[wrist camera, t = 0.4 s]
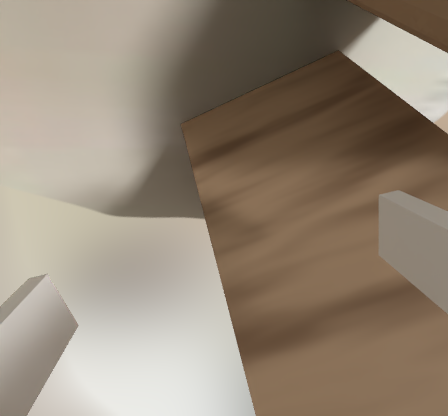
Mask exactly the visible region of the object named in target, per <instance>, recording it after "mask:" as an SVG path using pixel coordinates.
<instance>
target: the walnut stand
mask: <svg viewBox="0 0 448 416" xmlns="http://www.w3.org/2000/svg"><path fill="white" fill-rule="evenodd" d="M181 127H182V131H183V135H184V138H185V142H186V146H187V150H188V154H189V158H190V162H191V166H192V169H193V173H194V177H195V181H196V185H197V189H198V193H199V197H200V201H201V204H202V208H203V212H204V216H205V220H206V224H207V228H208V231H209V235H210V239H211V243H212V247H213V251H214V255H215V259H216V263H217V266H218V270H219V274H220V278H221V282H222V286H223V290H224V294H225V297H226V301H227V305H228V309H229V313H230V317H231V321H232V324H233V329H234V332H235V336H236V340H237V344H238V348H239V352H240V356H241V359H242V363H243V367H244V371H245V375H246V379H247V383H248V387H249V391H250V394H251V398H252V402H253V406H254V410H255V414H256V416H448V314H447V313H446V312H445V311H443V310H442V309H441V308H440V307H439V306H438V305H436V304H435V303H434V302H433V301H432V300H431V299H429V298H428V297H427V296H426V295H425V294H424V293H422V292H421V291H420V290H419V289H418V288H417V287H415V286H414V285H413V284H412V283H411V282H410V281H408V280H407V279H406V278H405V277H404V276H403V275H401V274H400V273H399V272H398V271H397V270H395V269H394V268H393V267H392V266H391V265H390V264H388V263H387V262H386V261H385V260H384V259H383V258H381V257H380V256H379V195H380V194H384V193H388V192H392V191H397V190H400V191H402V192H404V193H406V194H409V195H411V196H413V197H416V198H418V199H420V200H423V201H425V202H427V203H430V204H432V205H434V206H437V207H439V208H441V209H444V210H446V211H448V134H447V133H446V132H444V131H443V130H442V129H440V128H439V127H438V126H436V125H435V124H434V123H433V122H431V121H430V120H429V119H427V118H426V117H425V116H423V115H422V114H421V113H420V112H418V111H417V110H416V109H414V108H413V107H412V106H410V105H409V104H408V103H406V102H405V101H404V100H403V99H401V98H400V97H399V96H397V95H396V94H395V93H393V92H392V91H391V90H390V89H388V88H387V87H386V86H384V85H383V84H382V83H380V82H379V81H378V80H377V79H375V78H374V77H373V76H371V75H370V74H369V73H367V72H366V71H365V70H363V69H362V68H361V67H360V66H358V65H357V64H356V63H354V62H353V61H352V60H350V59H349V58H348V57H347V56H345V55H344V54H343V53H341V52H340V51H339V50H338V51H336V52H334V53H332V54H330V55H328V56H325V57H323V58H321V59H319V60H317V61H315V62H313V63H311V64H308V65H306V66H304V67H302V68H300V69H298V70H296V71H293V72H291V73H289V74H287V75H285V76H283V77H281V78H278V79H276V80H274V81H272V82H270V83H268V84H266V85H263V86H261V87H259V88H257V89H255V90H253V91H251V92H248V93H246V94H244V95H242V96H240V97H238V98H236V99H233V100H231V101H229V102H227V103H225V104H223V105H221V106H218V107H216V108H214V109H212V110H210V111H208V112H206V113H203V114H201V115H199V116H197V117H195V118H193V119H191V120H188V121H186V122H184V123H182V124H181Z"/></svg>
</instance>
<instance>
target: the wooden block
mask: <svg viewBox="0 0 448 416" xmlns="http://www.w3.org/2000/svg"><path fill="white" fill-rule="evenodd" d="M347 1H349V2H351V3H353V4H355V5H357V6H359V7H360V8H362V9H364V10H366V11H368V12H370V13H372V14H374V15H376V16H378V17H380V18H382V19H384V20H385V21H387V22H389V23H391V24H393V25H395V26H397V27H399V28H401V29H403V30H405V31H407V32H408V33H410V34H412V35H414V36H416V37H418V38H420V39H422V40H424V41H426V42H428V43H430V44H432V45H433V46H435V47H437V48H439V49H441V50H443V51H445V52H447V53H448V0H347Z"/></svg>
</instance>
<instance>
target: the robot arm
mask: <svg viewBox="0 0 448 416" xmlns="http://www.w3.org/2000/svg"><path fill="white" fill-rule="evenodd" d="M379 256H380V257H381V258H383V259H384V260H385V261H386V262H387V263H388V264H390V265H391V266H392V267H393V268H394V269H395V270H397V271H398V272H399V273H400V274H401V275H403V276H404V277H405V278H406V279H407V280H408V281H410V282H411V283H412V284H413V285H414V286H415V287H417V288H418V289H419V290H420V291H421V292H422V293H424V294H425V295H426V296H427V297H428V298H429V299H431V300H432V301H433V302H434V303H435V304H436V305H438V306H439V307H440V308H441V309H442V310H443V311H445V312H446V313H447V314H448V211H446V210H444V209H441V208H439V207H437V206H434V205H432V204H430V203H427V202H425V201H423V200H420V199H418V198H416V197H413V196H411V195H409V194H406V193H404V192H402V191H400V190H397V191H392V192H388V193H384V194H380V195H379ZM77 327H78V324H77V322H76V320H75V319H74V317H73V315H72V314H71V312H70V310H69V309H68V307H67V305H66V304H65V302H64V300H63V299H62V297H61V295H60V294H59V292H58V290H57V289H56V287H55V285H54V284H53V282H52V280H51V279H50V277H49V275H48V274H45V275H41V276H37V277H33V278H29V279H28V280H27V281H26V282H25V283H24V284H23V285H22V286H21V287H20V288H19V289H18V290H17V291H16V292H15V293H13V294H12V295H11V297H10V298H8V299H7V301H5V302H4V303H3V304H2V305H1V306H0V416H27V414H28V412H29V411H30V409H31V407H32V405H33V404H34V402H35V400H36V399H37V397H38V395H39V393H40V392H41V390H42V388H43V386H44V385H45V383H46V381H47V379H48V378H49V376H50V374H51V372H52V371H53V369H54V367H55V365H56V364H57V362H58V360H59V358H60V357H61V355H62V353H63V352H64V350H65V348H66V346H67V345H68V343H69V341H70V339H71V338H72V336H73V334H74V332H75V331H76V329H77Z"/></svg>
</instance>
